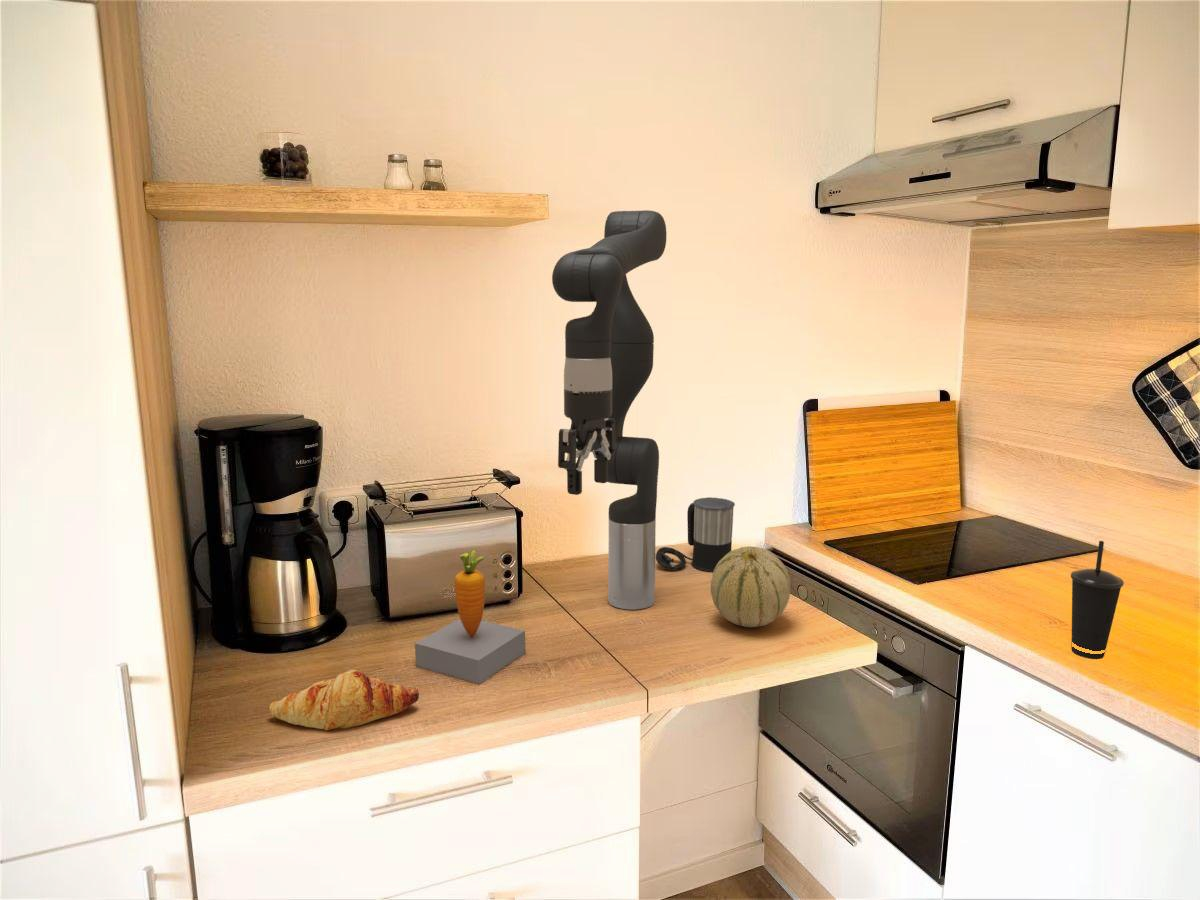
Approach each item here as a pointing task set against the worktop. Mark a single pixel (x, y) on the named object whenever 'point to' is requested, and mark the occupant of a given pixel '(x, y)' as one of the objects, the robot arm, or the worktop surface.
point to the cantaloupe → (750, 586)
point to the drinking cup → (1093, 607)
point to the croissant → (344, 702)
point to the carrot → (470, 594)
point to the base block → (470, 650)
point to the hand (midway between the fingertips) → (588, 488)
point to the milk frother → (704, 535)
